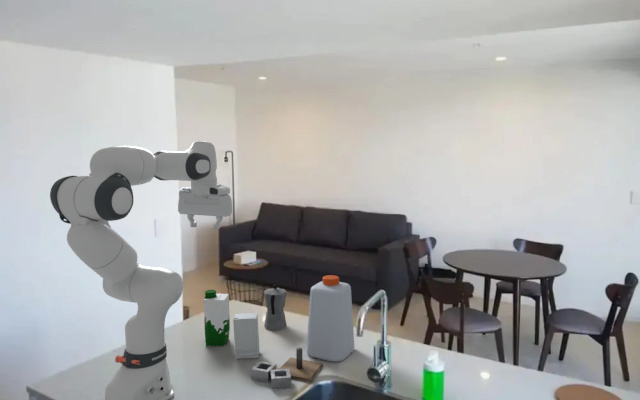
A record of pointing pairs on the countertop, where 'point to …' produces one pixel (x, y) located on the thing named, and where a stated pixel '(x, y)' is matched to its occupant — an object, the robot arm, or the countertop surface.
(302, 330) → the countertop surface
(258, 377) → the grey hollow square block
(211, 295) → the milk carton
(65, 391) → the countertop surface
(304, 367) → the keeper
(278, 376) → the link
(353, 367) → the countertop surface
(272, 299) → the coffeepot
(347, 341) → the plastic bottle
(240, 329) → the skincare box
